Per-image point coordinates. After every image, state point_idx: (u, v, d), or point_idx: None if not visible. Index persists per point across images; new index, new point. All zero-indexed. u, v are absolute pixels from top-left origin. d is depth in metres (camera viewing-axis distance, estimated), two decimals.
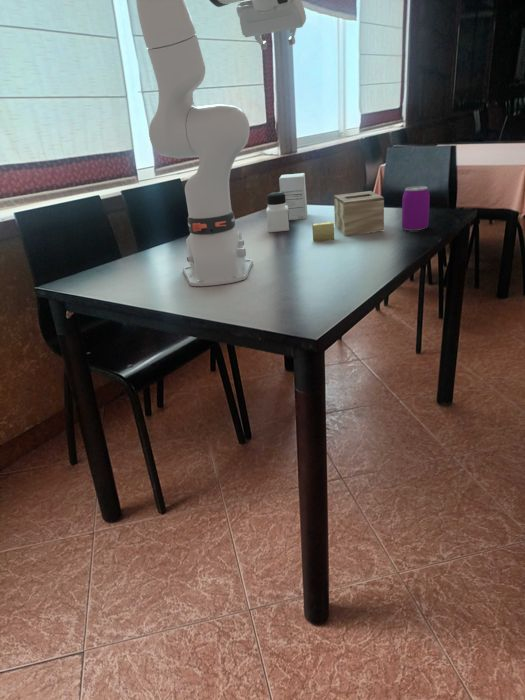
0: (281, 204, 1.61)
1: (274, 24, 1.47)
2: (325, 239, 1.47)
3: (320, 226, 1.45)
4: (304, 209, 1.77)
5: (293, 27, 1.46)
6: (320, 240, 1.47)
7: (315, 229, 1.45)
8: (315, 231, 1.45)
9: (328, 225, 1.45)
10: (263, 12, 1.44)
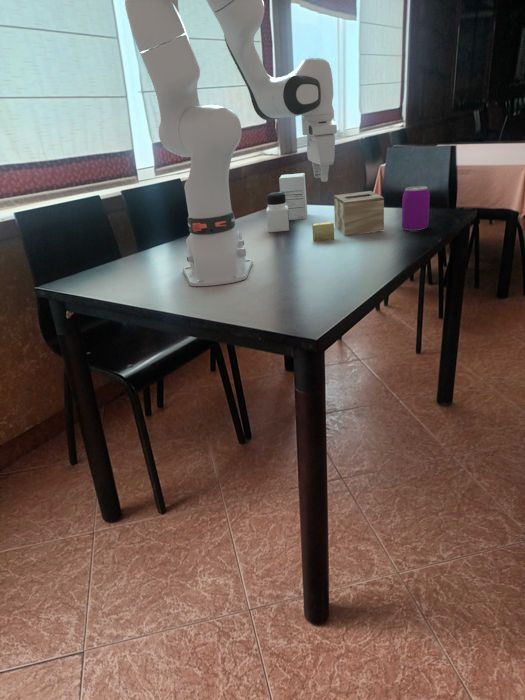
0: (281, 204, 1.61)
1: (314, 154, 1.37)
2: (325, 239, 1.47)
3: (320, 226, 1.45)
4: (304, 209, 1.77)
5: (318, 163, 1.32)
6: (320, 240, 1.47)
7: (315, 229, 1.45)
8: (315, 231, 1.45)
9: (328, 225, 1.45)
10: (307, 139, 1.37)
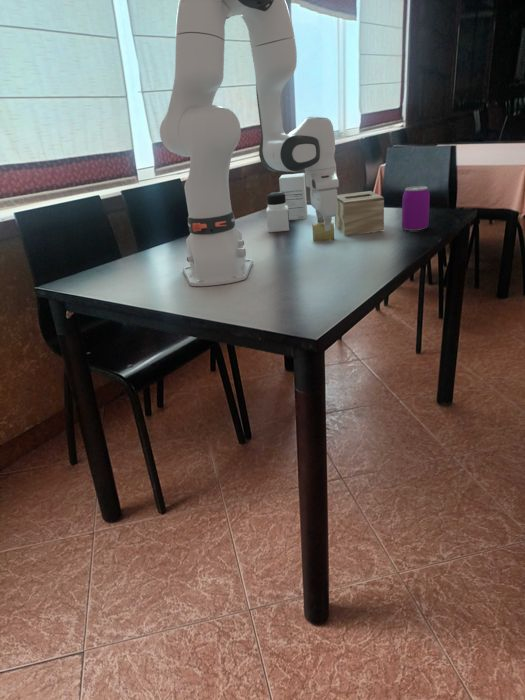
0: (281, 204, 1.61)
1: (317, 204, 1.43)
2: (325, 239, 1.47)
3: (320, 226, 1.45)
4: (304, 209, 1.77)
5: (321, 214, 1.38)
6: (320, 240, 1.47)
7: (315, 229, 1.45)
8: (315, 231, 1.45)
9: None
10: None
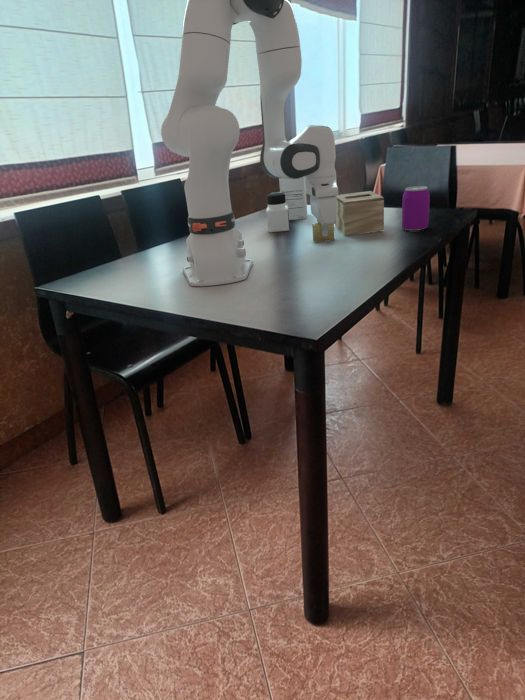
0: (281, 204, 1.61)
1: (317, 212, 1.43)
2: (325, 239, 1.47)
3: (320, 226, 1.45)
4: (304, 209, 1.77)
5: (321, 222, 1.39)
6: (320, 240, 1.47)
7: (315, 229, 1.45)
8: (315, 231, 1.45)
9: None
10: None
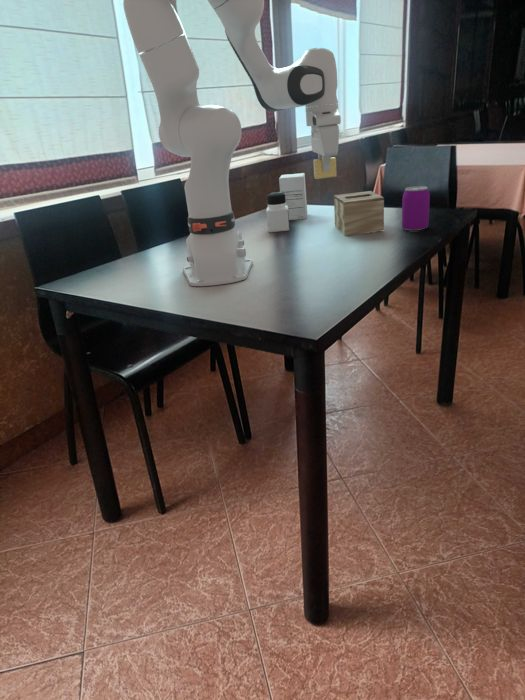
0: (281, 204, 1.61)
1: (318, 145, 1.36)
2: (327, 175, 1.40)
3: (321, 161, 1.38)
4: (304, 209, 1.77)
5: (322, 154, 1.32)
6: (322, 176, 1.40)
7: (316, 164, 1.38)
8: (316, 166, 1.39)
9: (330, 160, 1.38)
10: (311, 130, 1.36)
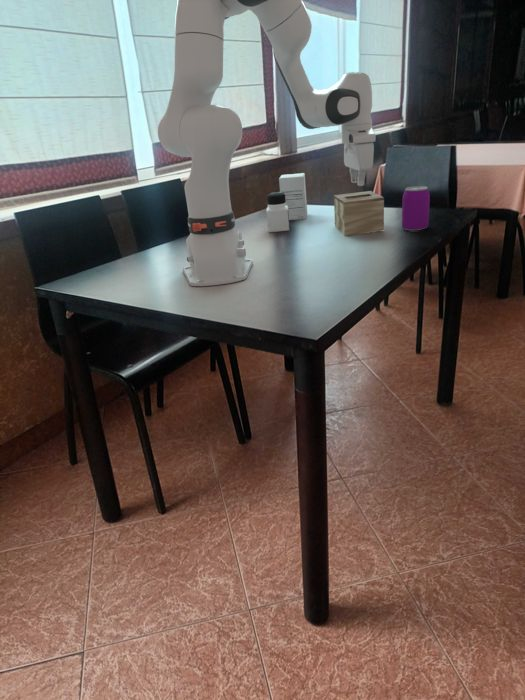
0: (281, 204, 1.61)
1: (352, 161, 1.46)
2: None
3: None
4: (304, 209, 1.77)
5: (357, 169, 1.42)
6: None
7: None
8: None
9: None
10: (346, 146, 1.46)
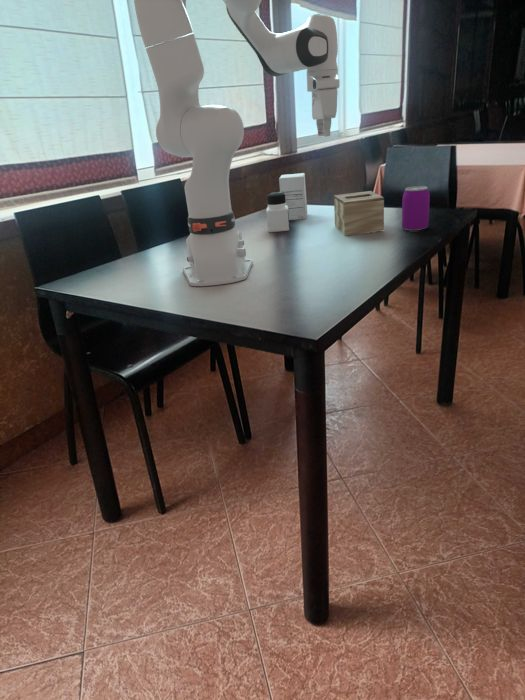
0: (281, 204, 1.61)
1: (317, 110, 1.42)
2: None
3: None
4: (304, 209, 1.77)
5: (321, 117, 1.38)
6: None
7: None
8: None
9: None
10: None
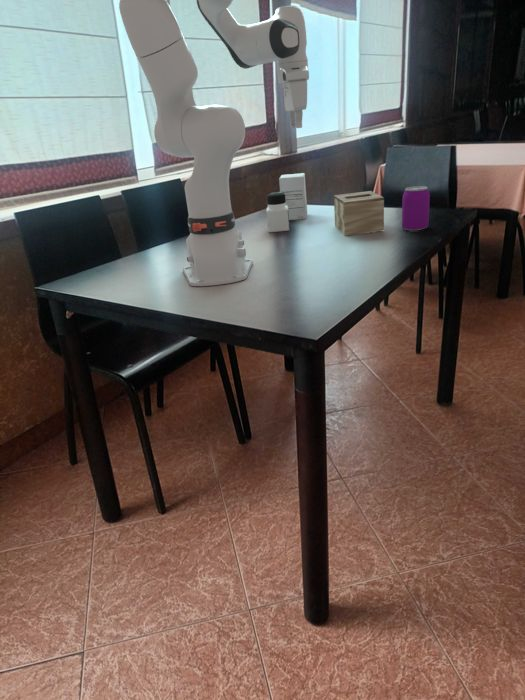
0: (281, 204, 1.61)
1: (289, 102, 1.43)
2: None
3: None
4: (304, 209, 1.77)
5: (292, 109, 1.39)
6: None
7: None
8: None
9: None
10: None
